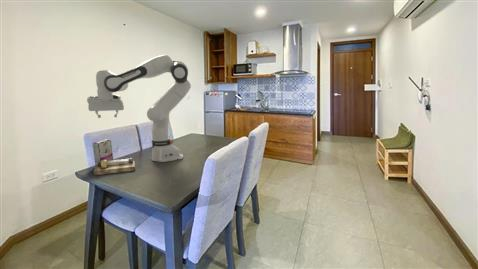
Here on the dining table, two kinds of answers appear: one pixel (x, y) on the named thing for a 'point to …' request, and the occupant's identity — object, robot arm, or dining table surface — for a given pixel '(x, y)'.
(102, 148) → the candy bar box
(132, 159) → the tong frame
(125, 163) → the tong arm
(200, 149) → the dining table surface
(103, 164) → the brass pin
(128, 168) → the tong rest
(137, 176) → the dining table surface
